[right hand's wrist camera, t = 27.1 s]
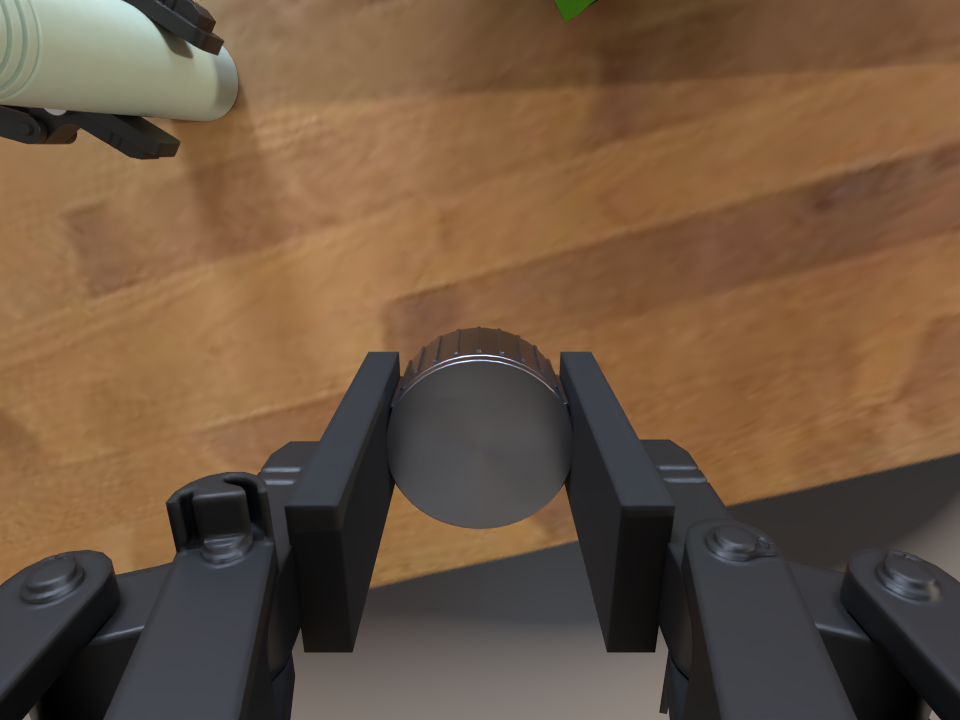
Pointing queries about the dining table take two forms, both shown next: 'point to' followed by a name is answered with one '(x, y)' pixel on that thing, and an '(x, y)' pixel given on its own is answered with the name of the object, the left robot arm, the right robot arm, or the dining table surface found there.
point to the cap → (479, 430)
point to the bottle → (107, 62)
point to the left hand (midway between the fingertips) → (189, 97)
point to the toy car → (572, 7)
